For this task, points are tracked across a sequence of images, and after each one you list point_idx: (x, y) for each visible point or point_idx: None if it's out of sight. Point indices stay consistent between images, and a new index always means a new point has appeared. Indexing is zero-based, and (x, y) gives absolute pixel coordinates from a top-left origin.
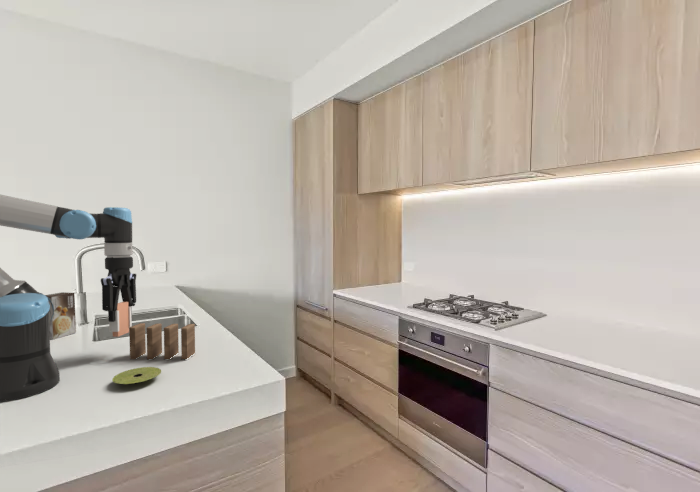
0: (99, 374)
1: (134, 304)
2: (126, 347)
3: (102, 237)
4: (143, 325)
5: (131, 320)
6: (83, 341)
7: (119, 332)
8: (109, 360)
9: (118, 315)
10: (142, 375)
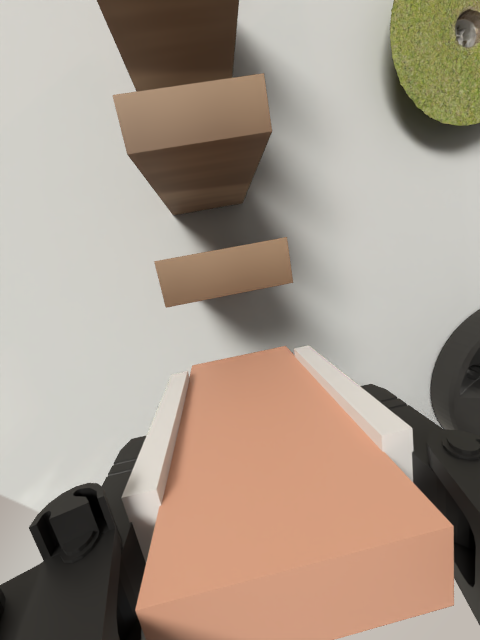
0: (399, 256)
1: (58, 507)
2: (143, 404)
3: None
4: (178, 258)
5: (164, 393)
6: None
7: (279, 355)
8: (281, 339)
9: (356, 399)
10: (473, 1)
